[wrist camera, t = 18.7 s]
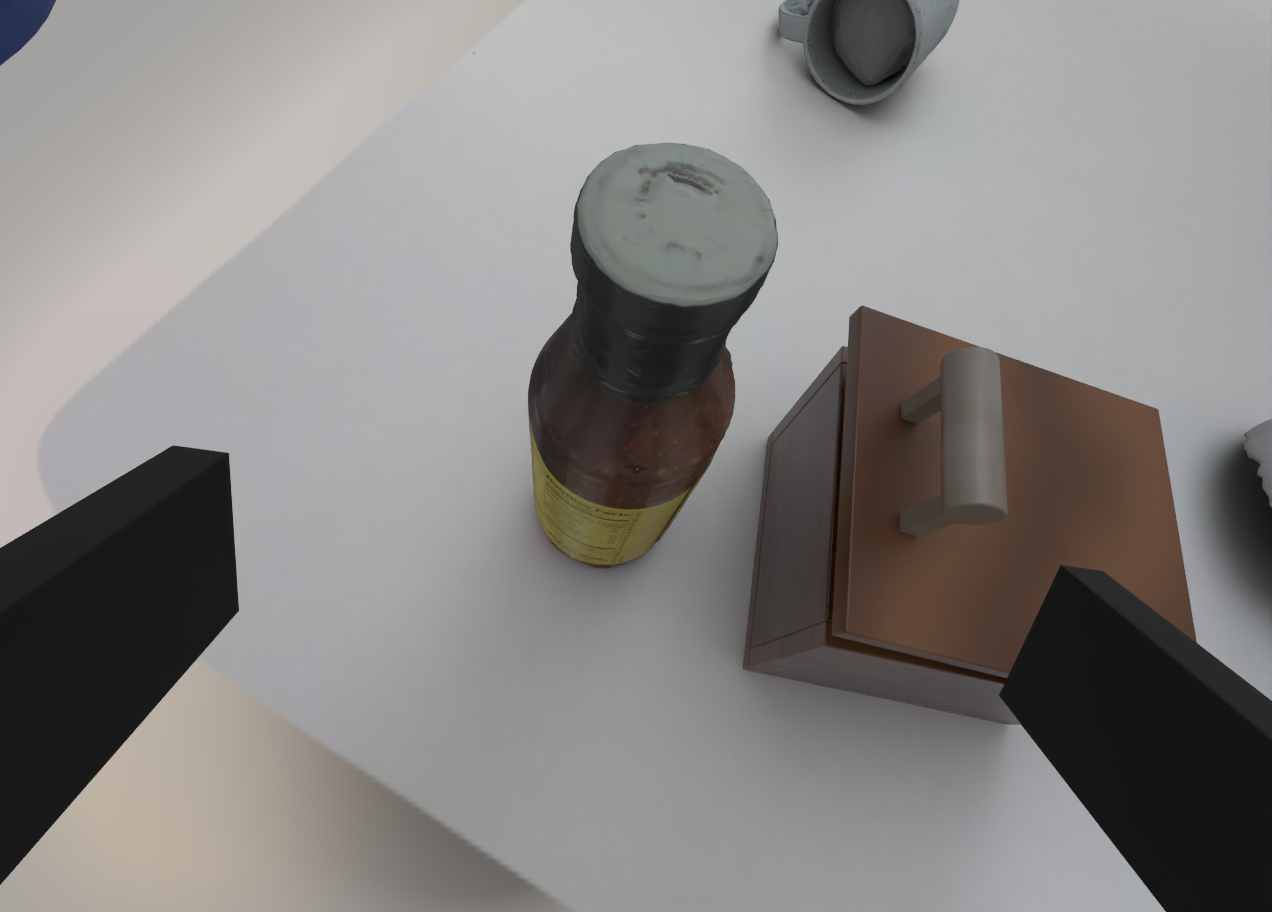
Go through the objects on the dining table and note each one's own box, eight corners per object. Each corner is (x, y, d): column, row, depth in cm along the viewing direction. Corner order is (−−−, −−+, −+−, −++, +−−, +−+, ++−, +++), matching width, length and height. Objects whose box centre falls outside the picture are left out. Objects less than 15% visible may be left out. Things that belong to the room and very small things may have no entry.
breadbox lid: (830, 635, 19) (930, 616, 15) (848, 316, 24) (929, 238, 20) (1185, 722, 22) (1351, 725, 18) (1139, 417, 26) (1262, 365, 23)
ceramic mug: (929, 69, 47) (997, -48, 40) (879, 128, 44) (944, 12, 37) (805, -4, 48) (851, -129, 42) (748, 48, 45) (786, -78, 38)
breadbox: (742, 669, 29) (823, 646, 21) (767, 436, 34) (842, 345, 26) (1009, 724, 30) (1185, 723, 22) (997, 490, 35) (1139, 417, 27)
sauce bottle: (605, 424, 33) (700, 41, 14) (692, 516, 31) (914, 225, 13) (500, 505, 30) (456, 169, 12) (590, 608, 29) (690, 407, 11)
